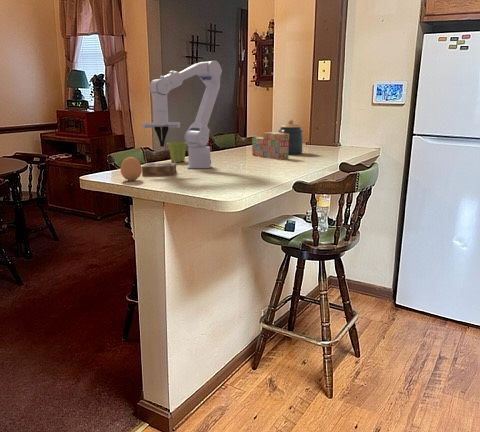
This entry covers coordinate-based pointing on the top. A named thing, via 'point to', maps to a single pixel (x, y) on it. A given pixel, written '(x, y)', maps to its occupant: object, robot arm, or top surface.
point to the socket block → (158, 169)
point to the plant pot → (177, 151)
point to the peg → (164, 164)
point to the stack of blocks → (271, 145)
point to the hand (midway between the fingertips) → (162, 146)
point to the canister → (293, 136)
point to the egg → (131, 168)
